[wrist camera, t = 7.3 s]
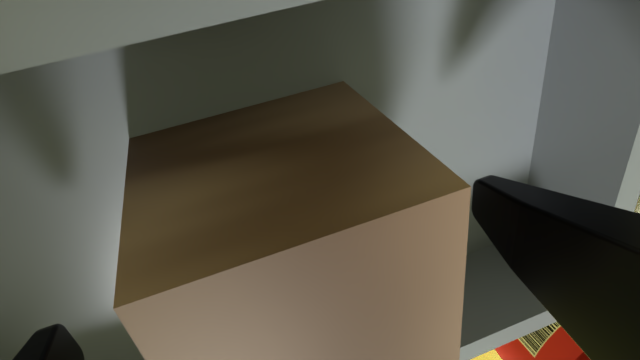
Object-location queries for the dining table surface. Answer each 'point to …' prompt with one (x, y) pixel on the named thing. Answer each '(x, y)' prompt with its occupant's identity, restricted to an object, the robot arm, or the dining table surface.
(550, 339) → the canned food
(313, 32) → the grey open tray
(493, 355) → the dining table surface
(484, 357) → the dining table surface
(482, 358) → the dining table surface
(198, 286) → the walnut block
